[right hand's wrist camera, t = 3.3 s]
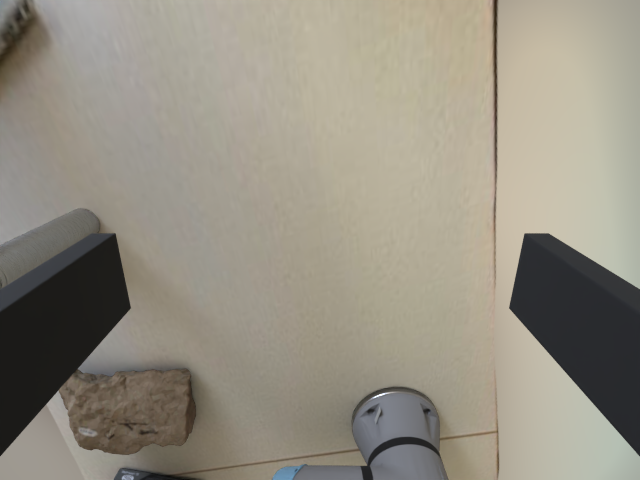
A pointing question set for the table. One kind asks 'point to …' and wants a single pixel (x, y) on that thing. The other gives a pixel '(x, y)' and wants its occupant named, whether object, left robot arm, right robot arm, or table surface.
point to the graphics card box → (140, 475)
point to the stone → (129, 409)
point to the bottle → (44, 243)
